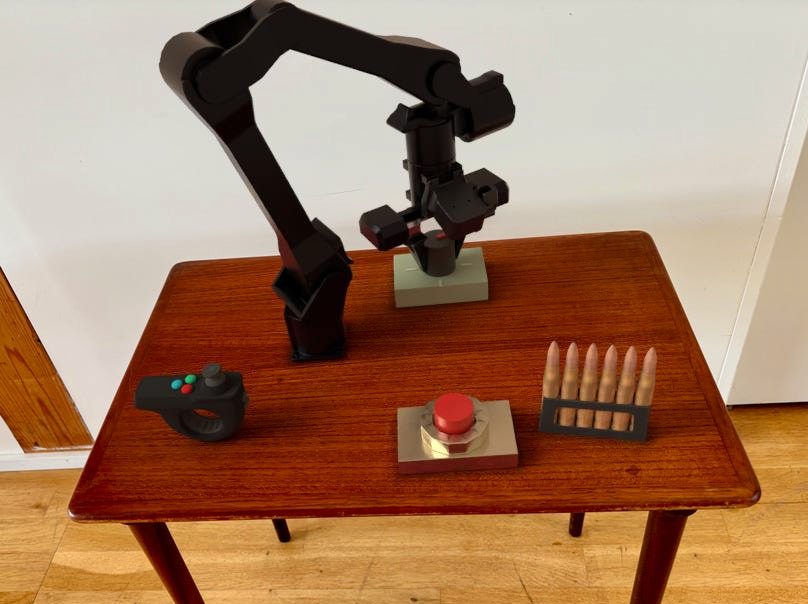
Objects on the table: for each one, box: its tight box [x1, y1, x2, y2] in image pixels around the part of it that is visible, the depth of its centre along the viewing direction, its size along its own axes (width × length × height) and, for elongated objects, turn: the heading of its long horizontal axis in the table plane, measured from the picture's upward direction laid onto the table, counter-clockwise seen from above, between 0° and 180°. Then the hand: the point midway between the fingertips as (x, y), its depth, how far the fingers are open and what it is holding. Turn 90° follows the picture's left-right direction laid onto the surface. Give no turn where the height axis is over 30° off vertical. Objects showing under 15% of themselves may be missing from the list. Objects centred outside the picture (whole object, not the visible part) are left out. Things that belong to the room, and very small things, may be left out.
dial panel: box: [393, 246, 489, 309], centre depth 95 cm, size 12×9×3 cm
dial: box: [423, 228, 456, 277], centre depth 92 cm, size 4×4×5 cm
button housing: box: [396, 394, 519, 476], centre depth 74 cm, size 12×8×4 cm, turn 89°
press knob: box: [434, 392, 474, 435], centre depth 72 cm, size 4×4×2 cm
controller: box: [133, 362, 250, 442], centre depth 78 cm, size 4×12×10 cm, turn 85°
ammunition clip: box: [538, 340, 658, 442], centre depth 70 cm, size 11×2×12 cm, turn 76°
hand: (438, 264), depth 94 cm, fingers closed on dial, 4 cm apart
